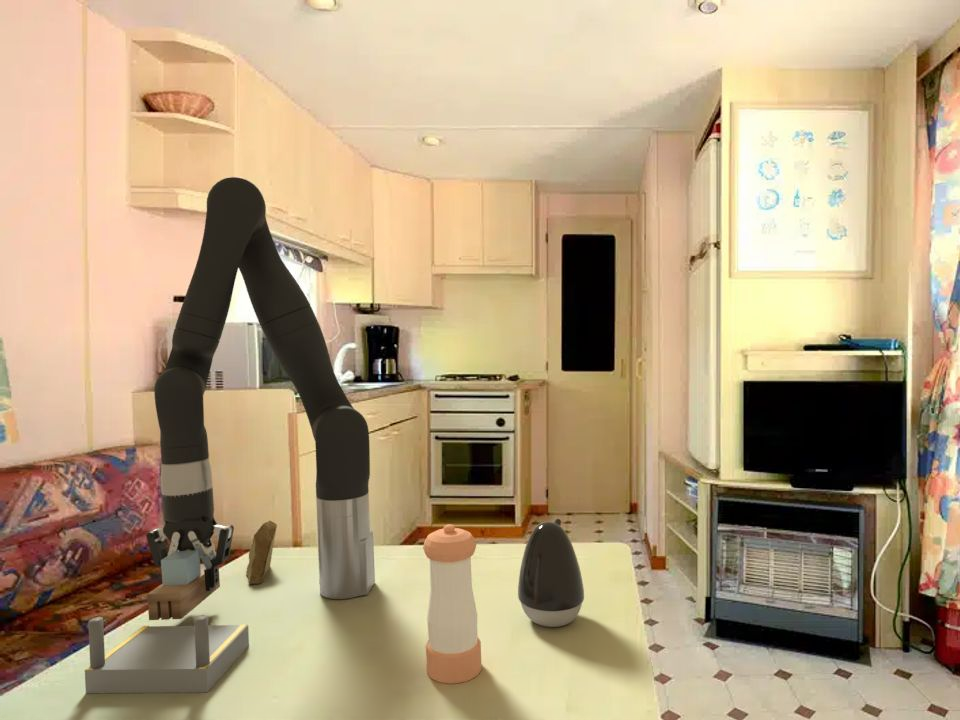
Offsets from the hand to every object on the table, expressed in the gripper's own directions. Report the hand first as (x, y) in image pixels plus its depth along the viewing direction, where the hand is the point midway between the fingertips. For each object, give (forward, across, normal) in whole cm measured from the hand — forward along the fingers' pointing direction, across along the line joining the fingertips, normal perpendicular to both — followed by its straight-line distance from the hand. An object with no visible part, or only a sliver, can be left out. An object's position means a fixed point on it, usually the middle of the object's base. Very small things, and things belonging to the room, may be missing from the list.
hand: (194, 589), depth 97 cm
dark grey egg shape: (+6, -58, +3) cm, 59 cm away
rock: (+5, -2, -18) cm, 19 cm away
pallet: (+1, 0, +2) cm, 3 cm away
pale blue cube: (-3, 0, +3) cm, 5 cm away
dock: (+4, -5, +16) cm, 17 cm away
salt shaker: (+5, -44, +17) cm, 48 cm away
